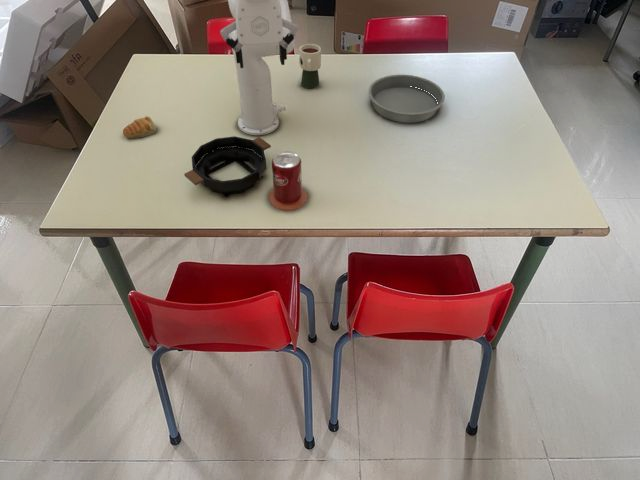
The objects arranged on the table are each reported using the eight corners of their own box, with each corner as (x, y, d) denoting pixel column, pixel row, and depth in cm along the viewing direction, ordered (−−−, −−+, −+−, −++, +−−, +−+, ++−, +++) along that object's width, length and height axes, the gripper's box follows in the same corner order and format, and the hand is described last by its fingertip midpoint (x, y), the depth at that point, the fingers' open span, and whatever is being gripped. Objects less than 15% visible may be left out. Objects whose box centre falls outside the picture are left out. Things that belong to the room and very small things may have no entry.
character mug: (301, 76, 168) (300, 40, 158) (321, 77, 168) (322, 41, 158) (298, 92, 161) (297, 55, 151) (319, 93, 160) (319, 57, 151)
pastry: (129, 143, 140) (125, 132, 137) (120, 132, 143) (116, 122, 140) (159, 132, 144) (156, 121, 141) (149, 122, 147) (146, 111, 145)
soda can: (281, 208, 121) (278, 172, 112) (269, 191, 126) (266, 155, 117) (306, 200, 124) (306, 163, 115) (294, 183, 128) (293, 147, 119)
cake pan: (453, 99, 159) (456, 87, 156) (423, 135, 145) (426, 122, 142) (388, 78, 168) (389, 66, 165) (353, 110, 154) (354, 97, 150)
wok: (246, 143, 141) (244, 125, 136) (287, 174, 131) (287, 156, 127) (174, 178, 129) (169, 160, 125) (214, 215, 120) (210, 196, 115)
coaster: (290, 180, 130) (290, 178, 129) (314, 198, 125) (314, 197, 124) (261, 196, 125) (261, 195, 125) (285, 216, 120) (285, 214, 120)
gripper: (215, -4, 96) (226, 74, 108) (299, -9, 98) (300, 69, 111) (213, -18, 100) (224, 59, 113) (294, -22, 103) (295, 53, 116)
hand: (262, 63), depth 112 cm, fingers open, 9 cm apart
